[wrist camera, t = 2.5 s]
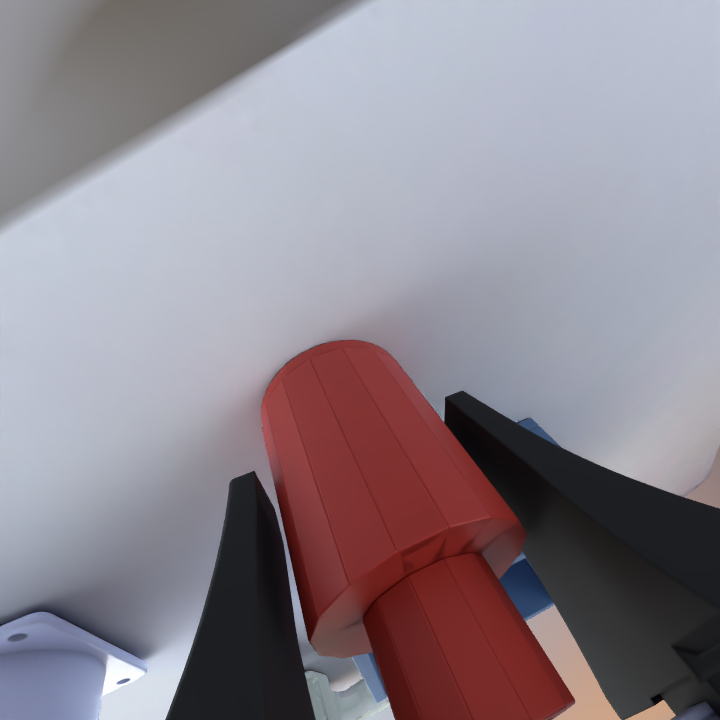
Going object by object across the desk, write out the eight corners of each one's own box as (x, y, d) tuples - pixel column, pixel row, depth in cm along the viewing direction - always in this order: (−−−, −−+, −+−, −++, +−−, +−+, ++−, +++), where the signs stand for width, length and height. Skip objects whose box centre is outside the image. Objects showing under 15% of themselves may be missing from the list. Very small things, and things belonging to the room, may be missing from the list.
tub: (344, 599, 23) (376, 703, 19) (306, 510, 16) (344, 644, 12) (504, 522, 25) (562, 600, 21) (530, 417, 18) (622, 503, 14)
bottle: (283, 471, 14) (374, 833, 7) (238, 370, 11) (325, 854, 4) (404, 424, 15) (584, 701, 8) (396, 319, 12) (681, 631, 5)
